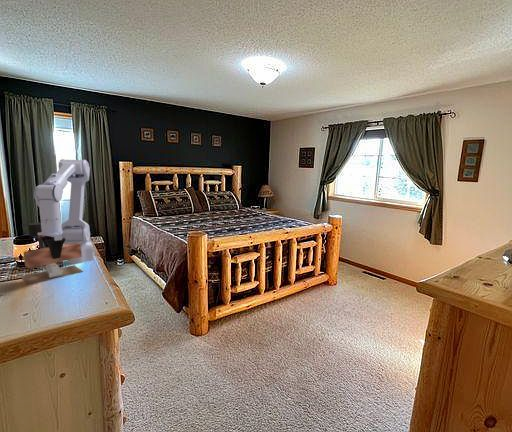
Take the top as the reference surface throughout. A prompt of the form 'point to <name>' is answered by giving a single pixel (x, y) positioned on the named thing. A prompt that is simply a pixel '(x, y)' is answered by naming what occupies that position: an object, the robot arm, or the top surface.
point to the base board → (42, 277)
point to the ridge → (52, 270)
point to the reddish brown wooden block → (45, 257)
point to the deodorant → (36, 233)
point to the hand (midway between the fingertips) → (54, 256)
